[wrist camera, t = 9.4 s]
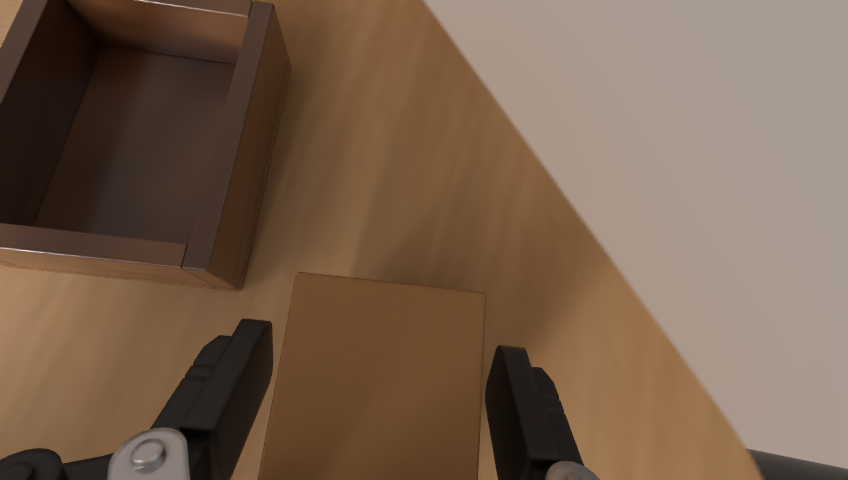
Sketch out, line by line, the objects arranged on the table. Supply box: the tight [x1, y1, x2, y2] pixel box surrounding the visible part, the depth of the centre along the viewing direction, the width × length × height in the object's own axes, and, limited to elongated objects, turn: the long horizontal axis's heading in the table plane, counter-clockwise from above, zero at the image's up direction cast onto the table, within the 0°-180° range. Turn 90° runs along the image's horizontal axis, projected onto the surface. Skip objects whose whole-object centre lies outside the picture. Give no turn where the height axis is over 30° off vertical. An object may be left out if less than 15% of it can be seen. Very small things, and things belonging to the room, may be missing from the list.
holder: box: [0, 0, 291, 291], centre depth 16 cm, size 9×11×4 cm
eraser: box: [258, 272, 486, 480], centre depth 12 cm, size 4×6×8 cm
